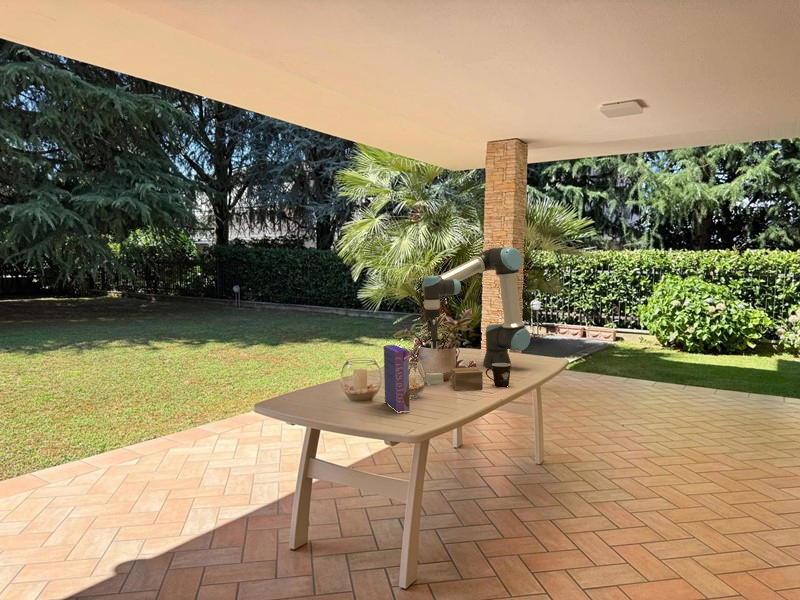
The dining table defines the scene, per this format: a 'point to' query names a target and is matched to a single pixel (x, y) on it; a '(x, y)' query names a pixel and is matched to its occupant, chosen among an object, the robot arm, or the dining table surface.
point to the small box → (434, 378)
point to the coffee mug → (500, 374)
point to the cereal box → (396, 377)
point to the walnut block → (467, 379)
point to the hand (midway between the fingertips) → (432, 353)
